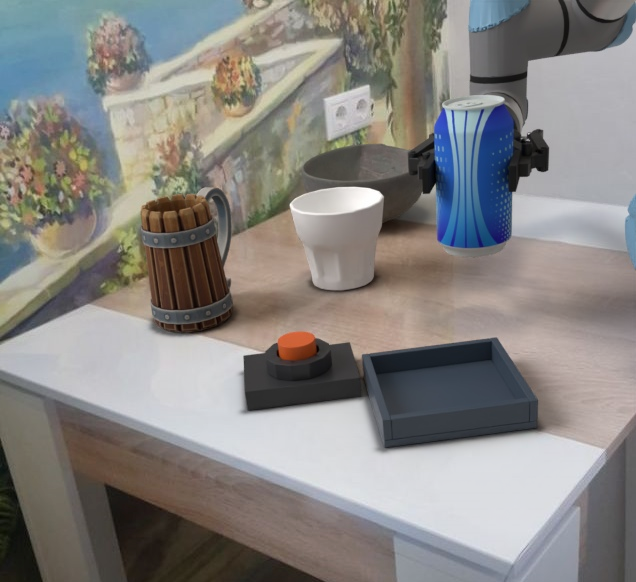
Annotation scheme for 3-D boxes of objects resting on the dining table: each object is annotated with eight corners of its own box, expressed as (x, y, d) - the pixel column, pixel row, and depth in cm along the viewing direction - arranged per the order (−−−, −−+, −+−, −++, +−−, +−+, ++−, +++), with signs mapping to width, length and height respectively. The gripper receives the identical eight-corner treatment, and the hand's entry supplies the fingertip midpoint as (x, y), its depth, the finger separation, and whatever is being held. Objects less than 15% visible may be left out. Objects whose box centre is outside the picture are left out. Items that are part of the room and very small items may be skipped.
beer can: (446, 235, 106) (443, 94, 98) (516, 236, 103) (519, 91, 95) (429, 259, 99) (425, 110, 91) (504, 261, 97) (506, 108, 88)
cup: (367, 257, 128) (362, 181, 122) (403, 284, 118) (399, 201, 112) (286, 275, 125) (277, 197, 119) (316, 303, 115) (307, 220, 109)
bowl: (286, 239, 139) (278, 175, 134) (334, 201, 155) (329, 142, 149) (408, 244, 131) (405, 176, 126) (445, 203, 147) (444, 142, 142)
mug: (203, 338, 108) (182, 218, 101) (137, 328, 113) (112, 213, 106) (269, 292, 120) (255, 181, 112) (207, 285, 125) (188, 178, 117)
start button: (315, 343, 95) (313, 329, 94) (318, 359, 92) (316, 344, 91) (278, 348, 95) (276, 333, 94) (280, 364, 92) (278, 349, 91)
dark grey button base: (351, 359, 99) (348, 327, 97) (361, 396, 92) (359, 361, 90) (246, 372, 99) (240, 340, 97) (247, 410, 91) (242, 376, 89)
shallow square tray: (496, 362, 95) (497, 336, 94) (537, 428, 83) (538, 400, 81) (363, 379, 95) (361, 354, 94) (384, 447, 83) (382, 420, 81)
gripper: (575, 158, 110) (570, 213, 92) (408, 163, 116) (372, 216, 98) (579, 95, 106) (574, 139, 88) (406, 104, 112) (368, 147, 94)
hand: (468, 180), depth 93 cm, fingers closed on beer can, 8 cm apart
